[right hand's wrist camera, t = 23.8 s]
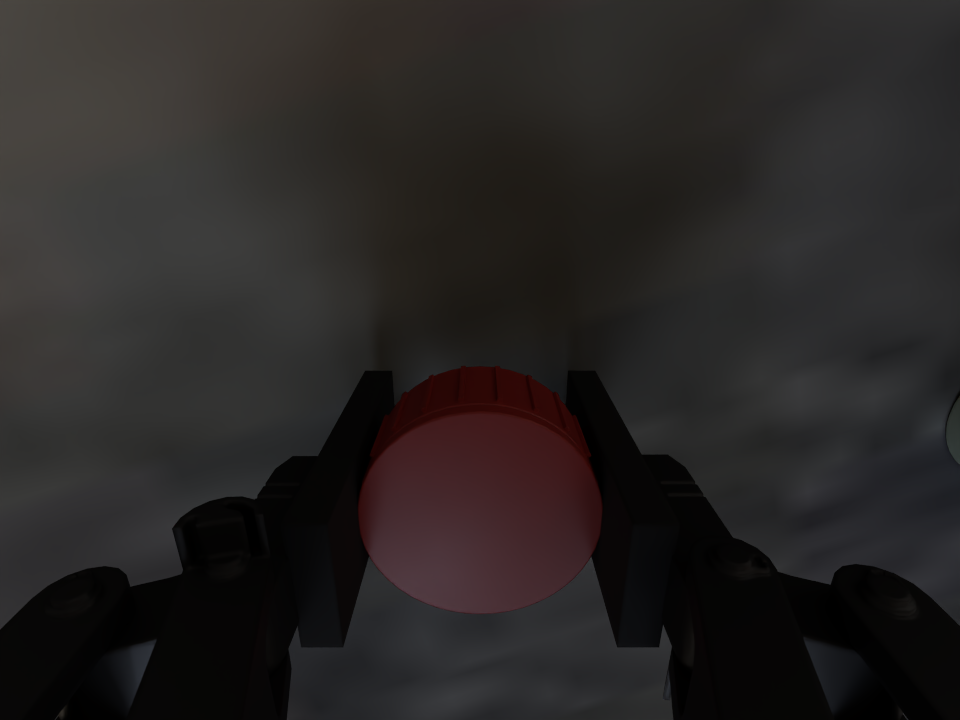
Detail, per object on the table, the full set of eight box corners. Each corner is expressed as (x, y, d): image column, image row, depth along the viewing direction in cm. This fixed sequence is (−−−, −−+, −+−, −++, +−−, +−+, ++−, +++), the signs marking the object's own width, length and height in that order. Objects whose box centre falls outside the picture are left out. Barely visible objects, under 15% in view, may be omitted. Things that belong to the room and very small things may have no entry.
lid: (523, 322, 11) (533, 360, 9) (619, 492, 13) (648, 559, 11) (333, 425, 12) (301, 482, 10) (445, 572, 14) (439, 648, 12)
